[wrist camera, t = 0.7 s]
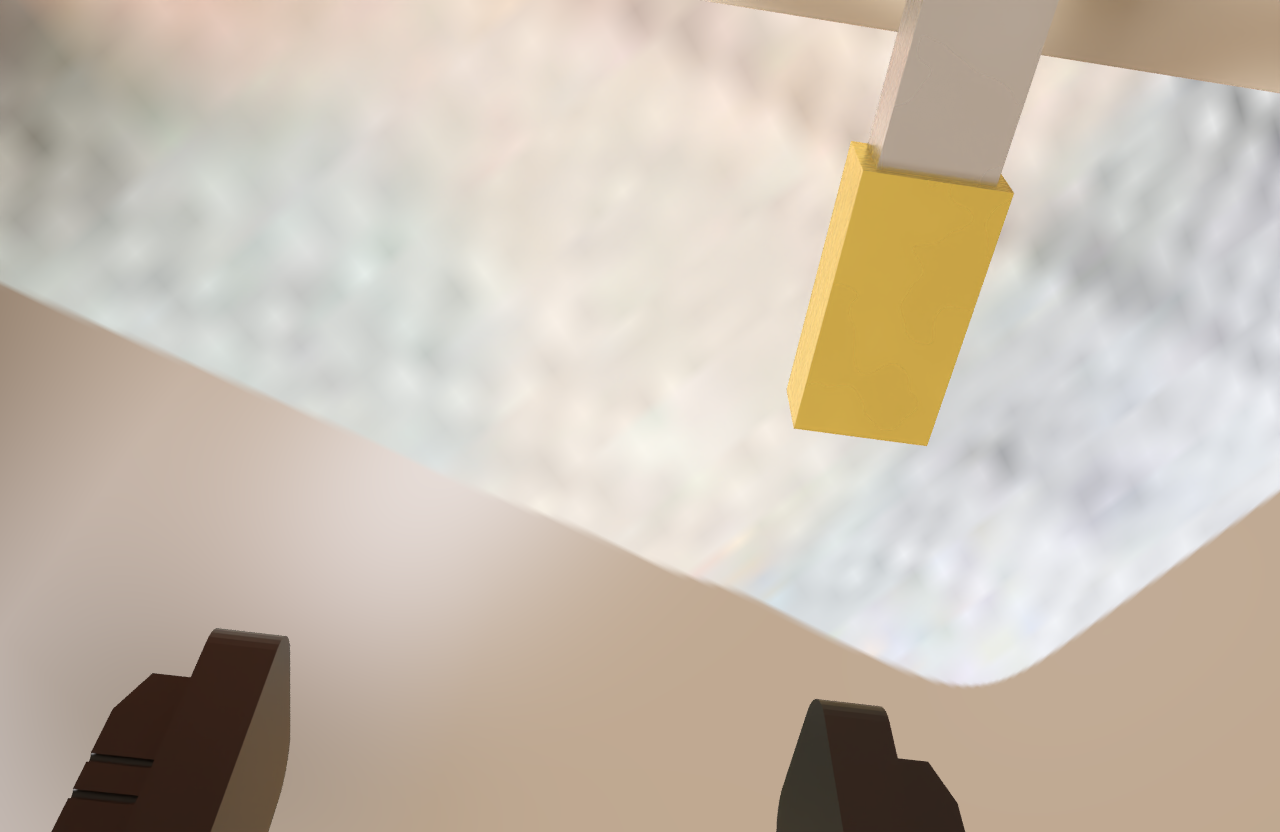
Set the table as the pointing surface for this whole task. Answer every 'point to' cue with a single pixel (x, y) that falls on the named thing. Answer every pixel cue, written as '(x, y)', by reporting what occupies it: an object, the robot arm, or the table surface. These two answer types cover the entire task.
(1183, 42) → the pipe board
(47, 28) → the table surface
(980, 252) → the valve lever
